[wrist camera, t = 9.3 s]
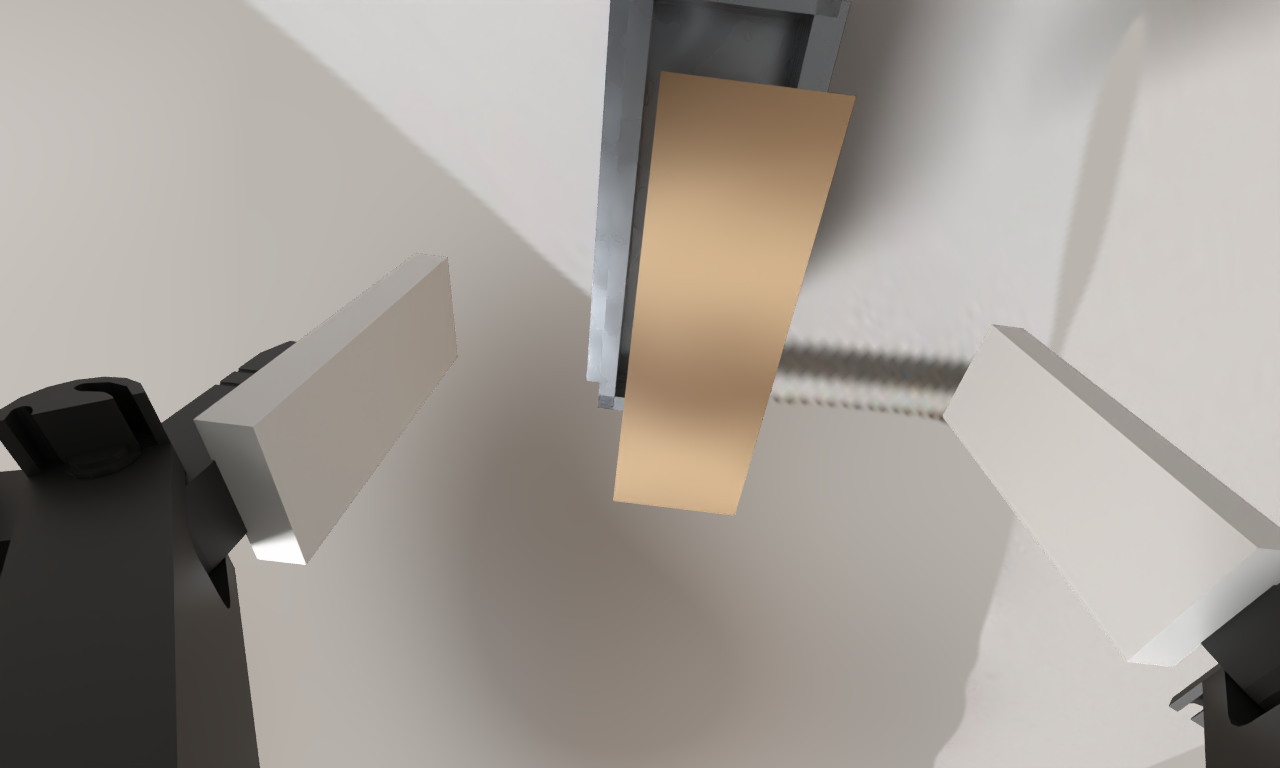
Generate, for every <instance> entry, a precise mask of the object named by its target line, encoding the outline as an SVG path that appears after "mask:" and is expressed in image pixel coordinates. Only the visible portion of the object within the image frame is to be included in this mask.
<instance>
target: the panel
mask: <svg viewBox="0 0 1280 768" xmlns="http://www.w3.org/2000/svg"><path fill="white" fill-rule="evenodd" d="M855 99H856V96H852V95H844V94H836V93H828V92H820V91H813V90H805V89H797V88H789V87H781V86H774V85H766V84H758V83H750V82H742V81H735V80H727V79H719V78H711V77H703V76H696V75H688V74H680V73H672V72H664V71H661V78H660V86H659V95H658V104H657V113H656V122H655V131H654V140H653V149H652V158H651V167H650V176H649V185H648V194H647V203H646V212H645V221H644V230H643V239H642V248H641V257H640V266H639V275H638V284H637V293H636V302H635V310H634V319H633V328H632V337H631V346H630V355H629V364H628V373H627V382H626V391H625V400H624V409H623V418H622V427H621V436H620V445H619V454H618V463H617V472H616V481H615V490H614V499H613V500H614V501H620V502H629V503H636V504H644V505H653V506H662V507H670V508H677V509H686V510H694V511H702V512H710V513H720V514H727V515H735V513H736V510H737V506H738V503H739V499H740V496H741V492H742V489H743V485H744V482H745V478H746V475H747V472H748V468H749V465H750V461H751V458H752V455H753V451H754V448H755V444H756V441H757V437H758V434H759V430H760V427H761V423H762V420H763V416H764V413H765V409H766V406H767V403H768V399H769V396H770V392H771V389H772V385H773V382H774V379H775V375H776V372H777V368H778V365H779V361H780V358H781V354H782V351H783V347H784V344H785V341H786V337H787V334H788V330H789V327H790V323H791V320H792V316H793V313H794V309H795V306H796V303H797V299H798V296H799V292H800V289H801V285H802V282H803V278H804V275H805V271H806V268H807V265H808V261H809V258H810V254H811V251H812V247H813V244H814V240H815V237H816V234H817V230H818V227H819V223H820V220H821V216H822V213H823V209H824V206H825V202H826V199H827V196H828V192H829V189H830V185H831V182H832V178H833V175H834V171H835V168H836V164H837V161H838V158H839V154H840V151H841V147H842V144H843V140H844V137H845V133H846V130H847V126H848V123H849V120H850V116H851V113H852V109H853V106H854V102H855Z"/></svg>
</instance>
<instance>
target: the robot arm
mask: <svg viewBox="0 0 1280 768" xmlns="http://www.w3.org/2000/svg"><path fill="white" fill-rule="evenodd" d="M457 357H458V355H457V345H456V335H455V325H454V315H453V305H452V295H451V285H450V275H449V265H448V257H444V256H435V255H427V254H419V253H415V254H414V255H412V256H411V257H410V258H408V259H407V260H406V261H404V262H403V263H402V264H400V265H399V266H398V267H396V268H395V269H394V270H392V271H391V272H390V273H388V274H387V275H386V276H385V277H383V278H382V279H380V280H379V281H378V282H376V283H375V284H374V285H372V286H371V287H370V288H368V289H367V290H366V291H364V292H363V293H362V294H360V295H359V296H358V297H356V298H355V299H354V300H352V301H351V302H350V303H348V304H347V305H346V306H344V307H343V308H341V309H340V310H339V311H337V312H336V313H335V314H333V315H332V316H331V317H330V318H328V319H327V320H326V321H324V322H323V323H321V324H320V325H319V326H317V327H316V328H315V329H313V330H312V331H311V332H309V333H308V334H307V335H305V336H304V337H303V338H301V339H300V340H299V341H297V342H294V341H289V342H286V343H284V344H281V345H279V346H276V347H274V348H271V349H269V350H266V351H264V352H261V353H260V354H258V355H257V356H255V357H254V358H253V359H251V360H250V361H248V362H247V363H245V364H244V365H243V366H241V367H240V368H239V371H238V372H233V373H231V374H230V375H229V376H227V377H226V378H224V379H223V380H221V381H220V385H214V386H213V387H212V388H210V389H209V390H207V391H206V392H205V393H203V394H202V395H200V396H199V397H197V398H196V399H195V400H193V401H192V402H190V403H189V404H188V405H186V406H185V407H183V408H182V409H181V410H179V411H178V412H176V413H175V414H173V415H172V416H171V417H169V418H168V419H166V420H165V421H164V422H162V423H161V422H160V420H159V418H158V416H157V414H156V412H155V410H154V408H153V406H152V404H151V402H150V401H149V398H148V396H147V394H146V392H145V391H144V389H143V387H142V385H141V384H140V383H138V382H136V381H133V380H130V379H128V378H116V377H98V378H89V379H81V380H74V381H70V382H66V383H62V384H58V385H54V386H50V387H47V388H44V389H41V390H39V391H36V392H33V393H31V394H28V395H26V396H23V397H20V398H19V399H17V400H15V401H14V402H12V403H11V404H9V405H7V406H5V407H4V408H2V409H0V441H1V442H2V443H3V445H4V446H5V447H6V449H7V450H8V451H9V453H10V454H11V455H12V457H13V458H14V460H15V461H16V462H17V463H18V465H19V466H20V468H21V469H22V470H16V471H5V472H0V768H260V765H259V757H258V749H257V742H256V733H255V726H254V717H253V709H252V701H251V693H250V686H249V678H248V670H247V662H246V654H245V646H244V638H243V630H242V622H241V614H240V606H239V599H238V590H237V583H236V575H235V568H234V566H233V564H232V562H231V560H230V558H229V556H228V553H229V552H230V551H231V550H232V549H233V547H235V545H236V544H237V543H238V542H239V541H240V540H241V539H242V538H243V537H244V535H245V534H246V535H247V537H248V539H249V541H250V543H251V546H252V548H253V550H254V552H255V554H256V557H257V558H258V559H261V560H269V561H278V562H286V563H295V564H303V565H307V563H308V562H309V561H310V559H311V558H312V556H313V555H314V554H315V552H316V551H317V550H318V548H319V547H320V545H321V544H322V543H323V541H324V540H325V539H326V537H327V536H328V534H329V533H330V532H331V530H332V529H333V527H334V526H335V525H336V523H337V522H338V521H339V519H340V518H341V517H342V515H343V514H344V512H345V511H346V510H347V508H348V507H349V505H350V504H351V503H352V501H353V500H354V499H355V497H356V496H357V495H358V493H359V492H360V490H361V489H362V488H363V486H364V485H365V484H366V482H367V481H368V479H369V478H370V477H371V475H372V474H373V473H374V471H375V470H376V468H377V467H378V466H379V464H380V463H381V461H382V460H383V459H384V458H385V456H386V455H387V453H388V452H389V451H390V449H391V448H392V446H393V445H394V444H395V442H396V441H397V440H398V438H399V437H400V435H401V434H402V433H403V431H404V430H405V429H406V427H407V426H408V424H409V423H410V422H411V420H412V419H413V418H414V416H415V415H416V414H417V412H418V411H419V409H420V408H421V407H422V405H423V404H424V403H425V401H426V400H427V398H428V397H429V396H430V394H431V393H432V392H433V390H434V389H435V387H436V386H437V385H438V383H439V382H440V381H441V379H442V378H443V377H444V375H445V374H446V372H447V371H448V369H449V368H450V367H451V366H452V364H453V363H454V361H455V360H456V359H457ZM943 418H944V419H945V420H946V422H947V423H948V424H949V426H950V427H951V428H952V430H953V431H954V432H955V434H956V435H957V436H958V438H959V439H960V440H961V442H962V443H963V444H964V446H965V447H966V448H967V450H968V451H969V452H970V454H971V455H972V456H973V458H974V459H975V460H976V462H977V463H978V464H979V466H980V467H981V468H982V470H983V471H984V473H985V474H986V475H987V477H988V478H989V479H990V481H991V482H992V483H993V484H994V486H995V487H996V489H997V490H998V491H999V493H1000V494H1001V495H1002V497H1003V498H1004V499H1005V501H1006V502H1007V503H1008V505H1009V506H1010V507H1011V509H1012V510H1013V511H1014V513H1015V514H1016V515H1017V517H1018V518H1019V519H1020V521H1021V522H1022V523H1023V525H1024V526H1025V527H1026V529H1027V530H1028V531H1029V533H1030V534H1031V535H1032V537H1033V538H1034V539H1035V541H1036V542H1037V543H1038V545H1039V546H1040V547H1041V549H1042V550H1043V551H1044V553H1045V554H1046V555H1047V557H1048V558H1049V559H1050V561H1051V562H1052V563H1053V565H1054V566H1055V567H1056V569H1057V570H1058V571H1059V573H1060V574H1061V575H1062V577H1063V578H1064V579H1065V581H1066V582H1067V583H1068V585H1069V586H1070V587H1071V589H1072V590H1073V591H1074V593H1075V594H1076V595H1077V597H1078V598H1079V599H1080V601H1081V602H1082V603H1083V605H1084V606H1085V607H1086V609H1087V610H1088V612H1089V613H1090V614H1091V616H1092V617H1093V618H1094V620H1095V621H1096V622H1097V624H1098V625H1099V626H1100V628H1101V629H1102V630H1103V632H1104V633H1105V634H1106V636H1107V637H1108V638H1109V640H1110V641H1111V642H1112V644H1113V645H1114V646H1115V648H1116V649H1117V650H1118V652H1119V653H1120V654H1121V656H1122V657H1123V658H1124V660H1125V661H1126V662H1133V663H1142V664H1150V665H1158V666H1167V667H1174V666H1175V665H1177V664H1178V663H1179V662H1180V661H1182V660H1183V659H1184V658H1185V657H1187V656H1188V655H1189V654H1190V653H1192V652H1193V651H1194V650H1196V649H1197V648H1198V647H1199V646H1201V645H1203V646H1204V648H1205V649H1206V650H1207V651H1208V652H1209V653H1210V654H1211V655H1212V656H1213V658H1214V659H1215V660H1216V661H1217V662H1218V663H1219V664H1217V665H1216V666H1215V667H1213V668H1212V669H1211V670H1209V671H1208V672H1207V673H1205V674H1204V675H1203V676H1201V677H1200V678H1199V679H1197V680H1196V681H1195V682H1193V683H1192V684H1190V685H1189V686H1188V687H1186V688H1185V689H1184V690H1182V691H1181V692H1180V693H1178V694H1177V695H1176V696H1174V697H1173V698H1172V700H1171V702H1170V705H1169V707H1171V708H1173V709H1174V710H1176V711H1179V710H1181V709H1182V708H1184V707H1185V706H1186V705H1188V704H1189V703H1195V704H1198V705H1201V706H1203V710H1202V711H1201V712H1199V713H1198V714H1196V715H1195V716H1193V717H1192V718H1191V720H1192V721H1194V722H1196V723H1197V724H1199V725H1200V726H1202V727H1204V735H1205V758H1206V768H1280V527H1279V526H1277V525H1276V524H1275V523H1274V522H1272V521H1271V520H1270V519H1268V518H1267V517H1266V516H1265V515H1263V514H1262V513H1261V512H1259V511H1258V510H1257V509H1256V508H1254V507H1253V506H1252V505H1250V504H1249V503H1248V502H1246V501H1245V500H1244V499H1243V498H1241V497H1240V496H1239V495H1237V494H1236V493H1235V492H1234V491H1232V490H1231V489H1230V488H1228V487H1227V486H1226V485H1225V484H1223V483H1222V482H1221V481H1219V480H1218V479H1217V478H1215V477H1214V476H1213V475H1212V474H1210V473H1209V472H1208V471H1206V470H1205V469H1204V468H1203V467H1201V466H1200V465H1199V464H1197V463H1196V462H1195V461H1194V460H1192V459H1191V458H1190V457H1188V456H1187V455H1186V454H1185V453H1183V452H1182V451H1181V450H1179V449H1178V448H1177V447H1175V446H1174V445H1173V444H1172V443H1170V442H1169V441H1168V440H1166V439H1165V438H1164V437H1163V436H1161V435H1160V434H1159V433H1157V432H1156V431H1155V430H1154V429H1152V428H1151V427H1150V426H1148V425H1147V424H1146V423H1144V422H1143V421H1142V420H1141V419H1139V418H1138V417H1137V416H1135V415H1134V414H1133V413H1132V412H1130V411H1129V410H1128V409H1126V408H1125V407H1124V406H1123V405H1121V404H1120V403H1119V402H1117V401H1116V400H1115V399H1113V398H1112V397H1111V396H1110V395H1108V394H1107V393H1106V392H1104V391H1103V390H1102V389H1101V388H1099V387H1098V386H1097V385H1095V384H1094V383H1093V382H1092V381H1090V380H1089V379H1088V378H1086V377H1085V376H1084V375H1083V374H1081V373H1080V372H1079V371H1077V370H1076V369H1075V368H1073V367H1072V366H1071V365H1070V364H1068V363H1067V362H1066V361H1064V360H1063V359H1062V358H1061V357H1059V356H1058V355H1057V354H1055V353H1054V352H1053V351H1052V350H1050V349H1049V348H1048V347H1046V346H1045V345H1044V344H1042V343H1041V342H1040V341H1039V340H1037V339H1036V338H1035V337H1033V336H1032V335H1031V334H1030V333H1028V332H1027V331H1026V330H1024V329H1023V328H1016V327H1008V326H1000V325H991V326H990V328H989V330H988V332H987V334H986V336H985V338H984V340H983V341H982V343H981V345H980V347H979V349H978V351H977V353H976V354H975V356H974V358H973V360H972V362H971V364H970V366H969V368H968V369H967V371H966V373H965V375H964V377H963V379H962V381H961V382H960V384H959V386H958V388H957V390H956V392H955V394H954V396H953V397H952V399H951V401H950V403H949V405H948V407H947V409H946V410H945V412H944V414H943Z"/></svg>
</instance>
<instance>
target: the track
mask: <svg viewBox="0 0 1280 768" xmlns="http://www.w3.org/2000/svg"><path fill="white" fill-rule="evenodd" d="M850 4H851V1H845V0H610V16H609V32H608V48H607V64H606V80H605V96H604V111H603V127H602V143H601V159H600V175H599V191H598V207H597V223H596V239H595V255H594V270H593V286H592V302H591V318H590V335H589V350H588V366H587V381H595V382H600V386H599V399H598V408H605V409H613V410H621V411H623V409H624V400H625V391H626V382H627V373H628V364H629V355H630V346H631V337H632V328H633V319H634V310H635V302H636V293H637V284H638V275H639V266H640V257H641V248H642V239H643V230H644V221H645V212H646V203H647V194H648V185H649V176H650V167H651V158H652V149H653V140H654V131H655V122H656V113H657V104H658V95H659V86H660V78H661V71H664V72H672V73H680V74H688V75H696V76H703V77H711V78H719V79H727V80H735V81H742V82H750V83H758V84H766V85H774V86H781V87H789V88H797V89H805V90H813V91H820V92H827V91H828V88H829V84H830V80H831V76H832V72H833V69H834V65H835V61H836V57H837V53H838V50H839V46H840V42H841V38H842V34H843V30H844V27H845V23H846V19H847V15H848V11H849V8H850Z"/></svg>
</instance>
